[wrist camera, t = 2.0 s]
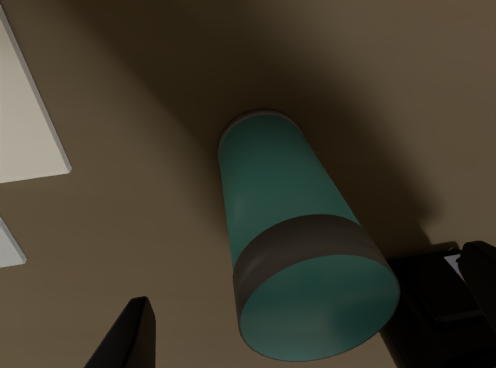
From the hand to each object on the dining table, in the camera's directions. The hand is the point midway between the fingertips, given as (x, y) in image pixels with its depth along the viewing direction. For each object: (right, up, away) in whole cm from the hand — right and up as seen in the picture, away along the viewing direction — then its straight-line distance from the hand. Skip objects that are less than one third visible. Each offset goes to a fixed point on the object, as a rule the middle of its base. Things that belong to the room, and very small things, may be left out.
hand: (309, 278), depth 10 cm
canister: (-1, +4, +6) cm, 8 cm away
